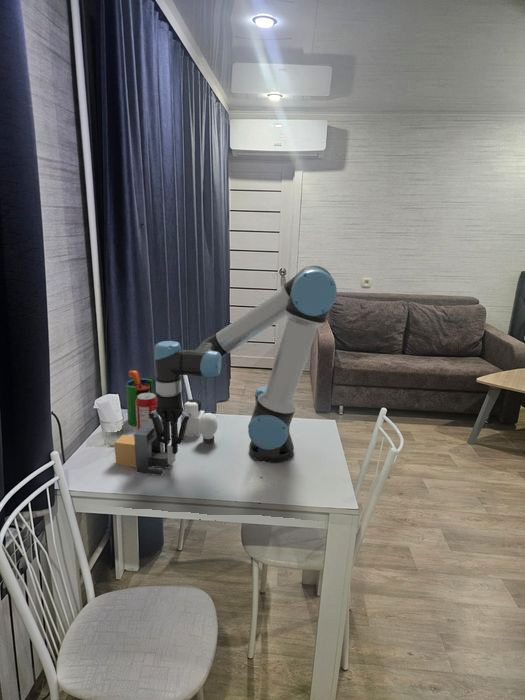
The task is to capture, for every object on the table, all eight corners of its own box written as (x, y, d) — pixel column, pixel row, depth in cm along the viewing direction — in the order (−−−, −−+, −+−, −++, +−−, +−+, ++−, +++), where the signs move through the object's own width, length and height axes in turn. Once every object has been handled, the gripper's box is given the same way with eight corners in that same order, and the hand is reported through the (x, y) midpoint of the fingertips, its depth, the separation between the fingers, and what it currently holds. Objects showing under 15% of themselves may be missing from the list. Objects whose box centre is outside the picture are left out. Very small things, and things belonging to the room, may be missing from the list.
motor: (144, 427, 166) (142, 377, 161) (123, 425, 168) (119, 375, 162) (156, 416, 176) (154, 368, 170) (135, 414, 177) (132, 367, 172)
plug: (173, 461, 143) (172, 440, 141) (166, 470, 138) (165, 448, 136) (124, 455, 146) (122, 434, 144) (115, 463, 140) (114, 442, 138)
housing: (175, 456, 146) (174, 420, 142) (160, 475, 135) (159, 436, 131) (152, 453, 147) (151, 417, 144) (136, 472, 136) (134, 433, 132)
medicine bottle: (186, 426, 168) (186, 396, 165) (205, 427, 167) (204, 398, 164) (180, 434, 161) (179, 404, 158) (199, 436, 160) (199, 405, 157)
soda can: (140, 440, 156) (138, 401, 152) (134, 432, 162) (132, 393, 158) (162, 436, 160) (160, 397, 156) (155, 427, 166) (154, 390, 162)
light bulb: (221, 440, 157) (221, 412, 154) (210, 448, 152) (210, 419, 149) (205, 436, 160) (205, 408, 157) (194, 443, 155) (194, 414, 152)
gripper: (193, 389, 136) (195, 458, 142) (153, 386, 138) (157, 454, 144) (185, 398, 129) (187, 470, 135) (143, 394, 131) (147, 465, 137)
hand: (171, 462), depth 140 cm, fingers closed
